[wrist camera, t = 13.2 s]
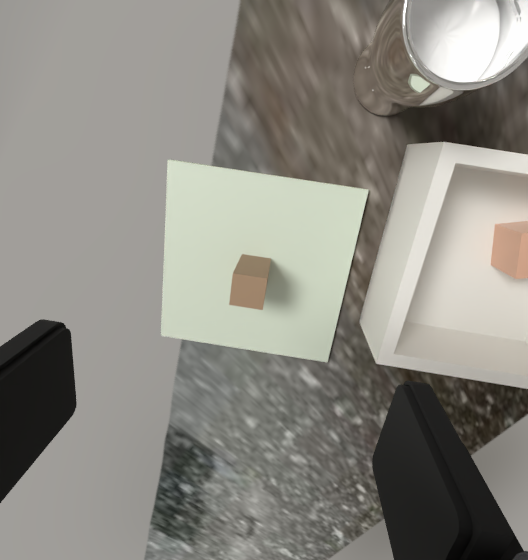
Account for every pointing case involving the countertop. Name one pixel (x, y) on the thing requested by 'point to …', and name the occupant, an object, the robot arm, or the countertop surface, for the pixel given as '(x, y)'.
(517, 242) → the block
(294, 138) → the countertop surface
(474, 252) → the box
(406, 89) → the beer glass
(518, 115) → the countertop surface
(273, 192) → the lid
